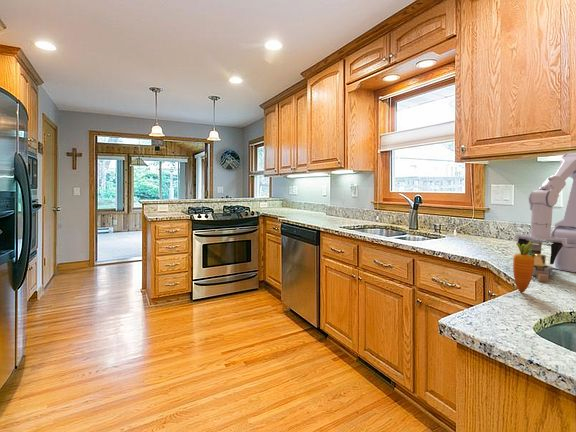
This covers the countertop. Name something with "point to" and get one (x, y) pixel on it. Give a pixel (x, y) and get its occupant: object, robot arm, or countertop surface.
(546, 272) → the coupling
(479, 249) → the countertop surface
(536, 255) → the peg
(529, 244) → the carrot
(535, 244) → the food container
